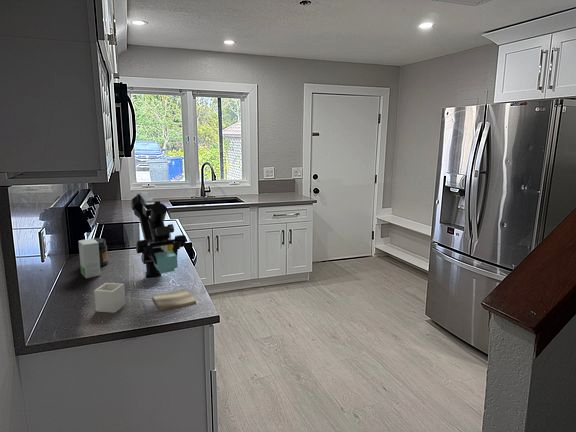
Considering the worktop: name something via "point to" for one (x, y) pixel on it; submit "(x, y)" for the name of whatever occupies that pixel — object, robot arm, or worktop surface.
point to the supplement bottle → (168, 247)
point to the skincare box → (89, 258)
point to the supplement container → (102, 251)
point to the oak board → (173, 299)
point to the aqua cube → (166, 261)
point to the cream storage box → (109, 297)
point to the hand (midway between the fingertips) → (166, 262)
